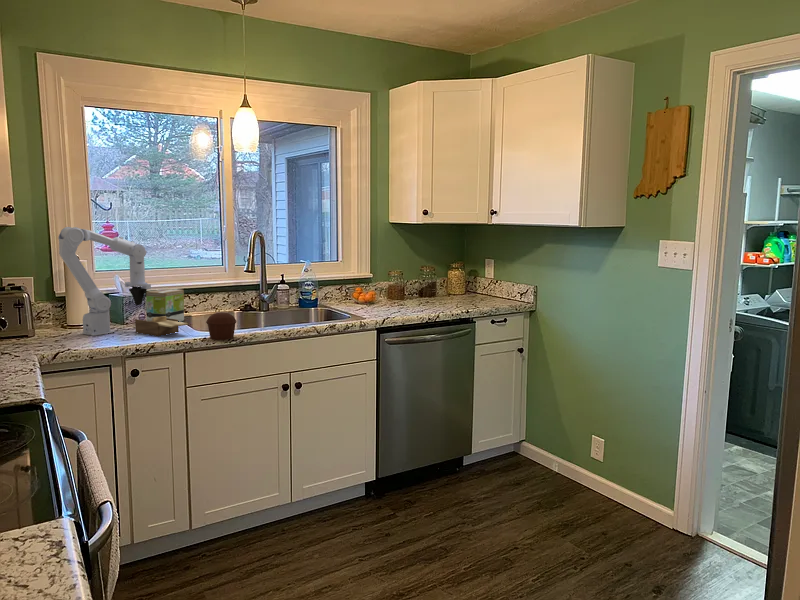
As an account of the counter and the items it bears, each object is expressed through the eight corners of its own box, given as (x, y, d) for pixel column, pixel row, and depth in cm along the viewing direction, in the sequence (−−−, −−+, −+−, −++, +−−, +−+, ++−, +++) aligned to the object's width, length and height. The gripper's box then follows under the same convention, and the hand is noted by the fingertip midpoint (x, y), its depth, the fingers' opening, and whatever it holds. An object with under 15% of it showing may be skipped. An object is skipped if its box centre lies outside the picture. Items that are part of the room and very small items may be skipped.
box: (157, 336, 244) (157, 322, 243) (135, 332, 251) (135, 319, 251) (178, 332, 253) (178, 319, 252) (156, 329, 260) (156, 316, 259)
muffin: (233, 334, 251) (232, 310, 250) (240, 339, 242) (239, 314, 241) (203, 336, 246) (202, 311, 244) (209, 341, 236) (208, 315, 235)
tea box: (166, 325, 270) (165, 292, 268) (146, 324, 272) (144, 291, 270) (185, 320, 284) (184, 288, 282) (165, 319, 286) (164, 288, 284)
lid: (171, 327, 241) (170, 321, 240) (148, 323, 248) (147, 318, 247) (188, 324, 248) (188, 318, 247) (165, 321, 255) (165, 315, 255)
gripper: (156, 273, 256) (157, 305, 258) (134, 271, 264) (136, 302, 265) (141, 274, 250) (143, 307, 252) (120, 272, 258) (121, 304, 259)
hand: (138, 304), depth 258 cm, fingers closed
